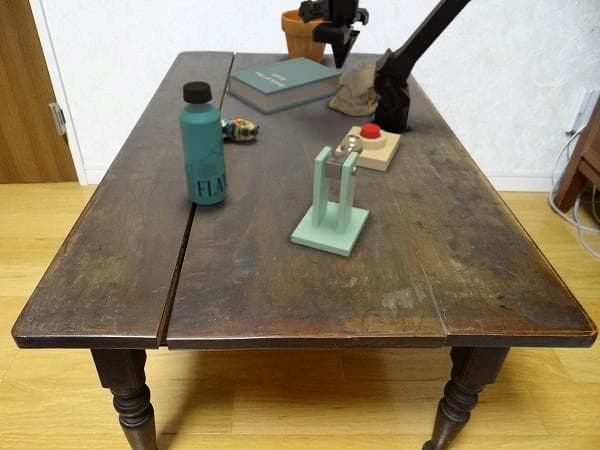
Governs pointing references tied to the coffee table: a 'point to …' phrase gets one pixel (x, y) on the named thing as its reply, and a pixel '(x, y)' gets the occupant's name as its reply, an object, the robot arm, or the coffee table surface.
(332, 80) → the book
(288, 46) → the flower pot
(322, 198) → the bracket
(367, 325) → the coffee table surface
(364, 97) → the ceramic model
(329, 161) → the lever
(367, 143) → the button block
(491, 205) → the coffee table surface
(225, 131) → the figurine
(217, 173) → the beverage bottle
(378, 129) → the button
